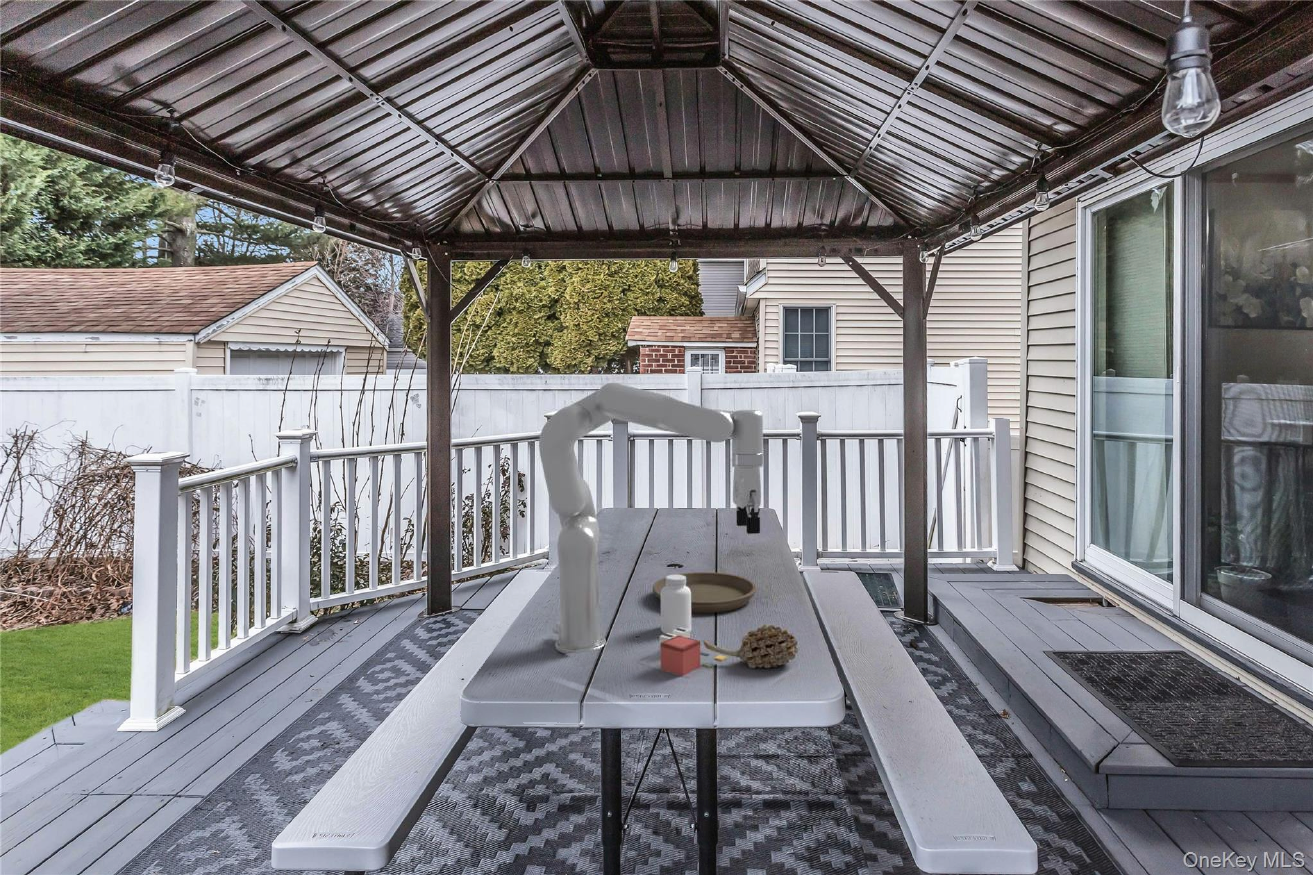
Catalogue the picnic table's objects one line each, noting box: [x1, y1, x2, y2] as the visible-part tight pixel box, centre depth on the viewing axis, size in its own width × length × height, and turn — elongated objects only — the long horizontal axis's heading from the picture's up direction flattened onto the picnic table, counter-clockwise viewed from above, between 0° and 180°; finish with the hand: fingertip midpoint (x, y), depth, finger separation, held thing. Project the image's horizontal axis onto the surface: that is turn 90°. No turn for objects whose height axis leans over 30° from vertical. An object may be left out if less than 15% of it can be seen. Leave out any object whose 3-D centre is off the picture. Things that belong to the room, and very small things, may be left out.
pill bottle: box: [660, 574, 692, 634], centre depth 198 cm, size 8×8×15 cm
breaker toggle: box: [673, 627, 691, 639], centre depth 185 cm, size 3×3×4 cm
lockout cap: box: [659, 636, 701, 677], centre depth 172 cm, size 6×6×6 cm
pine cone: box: [702, 624, 799, 669], centre depth 174 cm, size 22×10×10 cm, turn 85°
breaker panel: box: [637, 633, 732, 679], centre depth 178 cm, size 15×18×6 cm
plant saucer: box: [652, 571, 757, 614], centre depth 228 cm, size 31×31×5 cm
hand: (748, 529), depth 188 cm, fingers open, 9 cm apart
